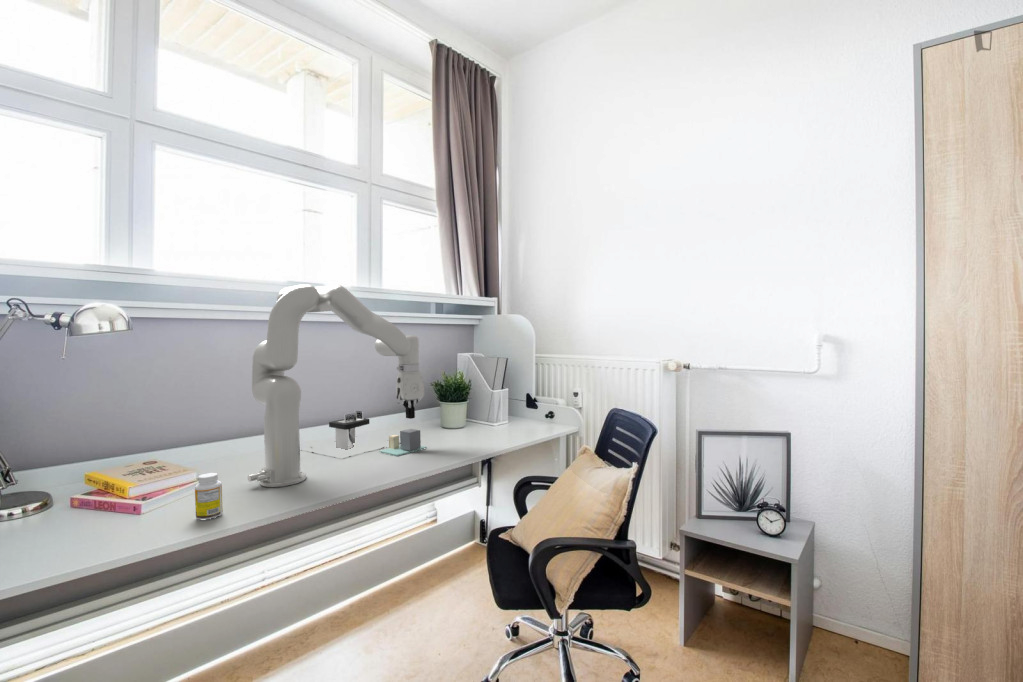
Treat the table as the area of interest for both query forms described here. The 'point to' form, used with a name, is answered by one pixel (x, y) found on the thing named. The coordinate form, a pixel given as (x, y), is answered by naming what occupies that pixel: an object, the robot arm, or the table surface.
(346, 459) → the table surface
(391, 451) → the board
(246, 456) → the table surface
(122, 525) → the table surface
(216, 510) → the supplement bottle
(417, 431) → the grey block
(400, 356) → the robot arm
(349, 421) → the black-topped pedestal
